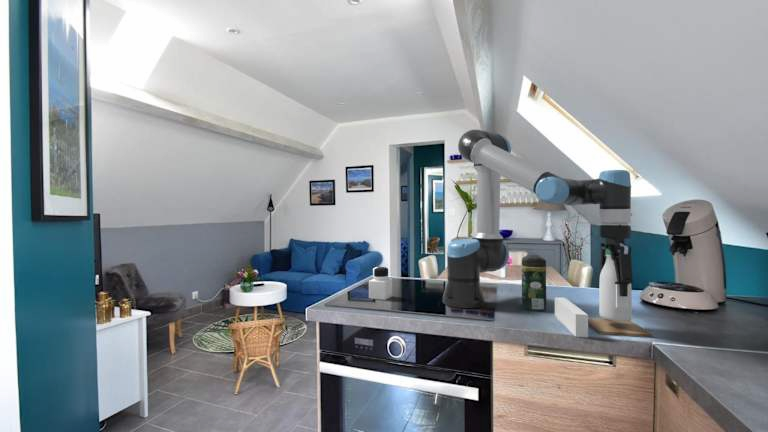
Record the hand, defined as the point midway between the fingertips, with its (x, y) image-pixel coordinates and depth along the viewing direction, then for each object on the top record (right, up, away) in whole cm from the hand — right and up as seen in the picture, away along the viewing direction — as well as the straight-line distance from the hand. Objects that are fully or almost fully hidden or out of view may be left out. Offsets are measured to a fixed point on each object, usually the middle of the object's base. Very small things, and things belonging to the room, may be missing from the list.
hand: (615, 303), depth 100 cm
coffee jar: (-14, -7, +22) cm, 27 cm away
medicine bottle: (-68, -7, +38) cm, 78 cm away
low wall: (-12, -7, +2) cm, 14 cm away
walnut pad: (0, -7, 0) cm, 7 cm away
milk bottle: (0, -4, 0) cm, 4 cm away
